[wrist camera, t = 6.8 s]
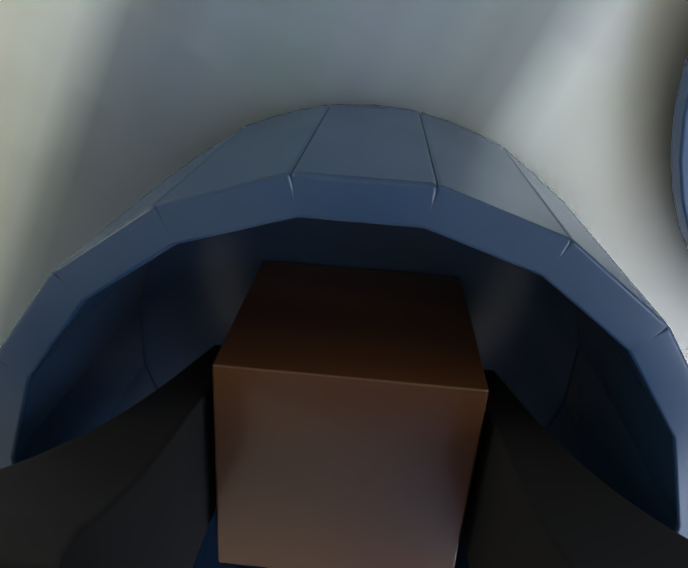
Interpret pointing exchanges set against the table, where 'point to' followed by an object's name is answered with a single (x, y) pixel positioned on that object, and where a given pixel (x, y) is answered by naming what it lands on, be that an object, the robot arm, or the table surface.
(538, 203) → the bowl
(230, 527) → the block
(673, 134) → the lid
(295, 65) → the table surface
